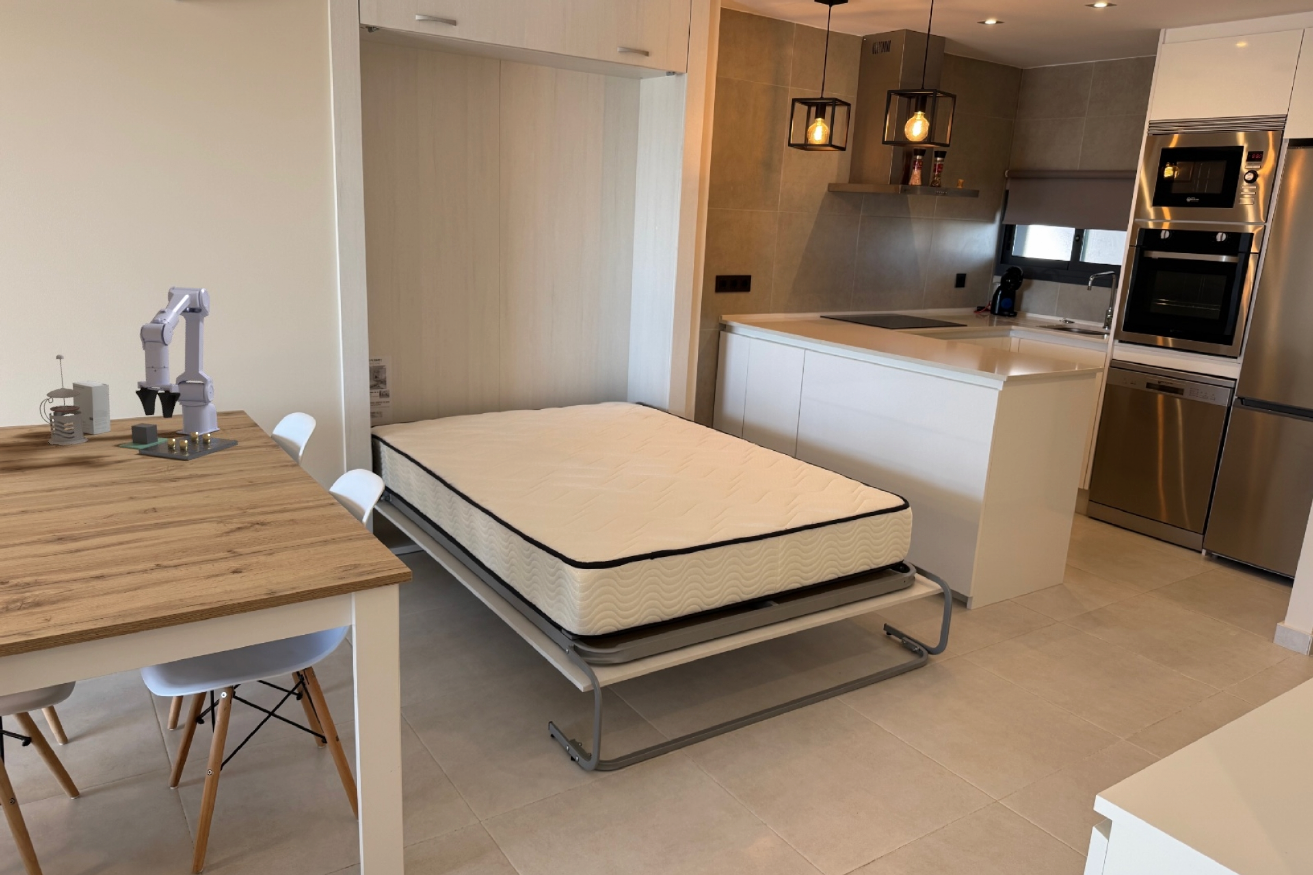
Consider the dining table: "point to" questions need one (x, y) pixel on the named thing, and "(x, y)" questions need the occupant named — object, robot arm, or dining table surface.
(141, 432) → the board
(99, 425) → the skincare box
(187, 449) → the plate
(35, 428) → the dining table surface
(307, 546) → the dining table surface
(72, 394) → the french press
